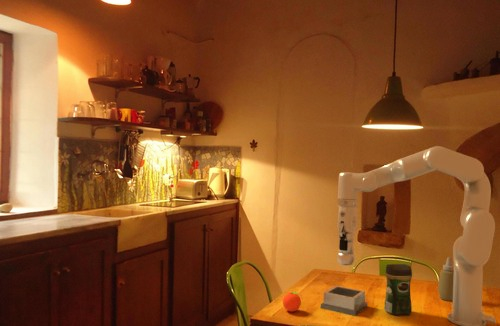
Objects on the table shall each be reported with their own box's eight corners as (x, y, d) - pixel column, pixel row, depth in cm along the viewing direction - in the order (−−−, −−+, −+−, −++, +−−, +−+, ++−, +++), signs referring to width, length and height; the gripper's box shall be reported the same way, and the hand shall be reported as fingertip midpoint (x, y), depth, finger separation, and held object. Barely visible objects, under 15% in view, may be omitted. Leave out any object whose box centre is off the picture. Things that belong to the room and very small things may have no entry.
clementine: (297, 307, 166) (298, 288, 166) (306, 313, 159) (307, 294, 159) (279, 308, 163) (279, 290, 163) (287, 315, 156) (287, 295, 156)
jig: (367, 306, 169) (367, 291, 169) (355, 315, 158) (355, 299, 158) (334, 299, 177) (334, 284, 177) (320, 307, 165) (321, 292, 165)
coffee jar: (403, 308, 168) (404, 261, 168) (414, 315, 160) (416, 266, 160) (380, 309, 166) (382, 262, 166) (391, 316, 158) (392, 266, 158)
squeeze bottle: (436, 300, 181) (438, 257, 181) (438, 295, 188) (439, 254, 188) (458, 303, 177) (459, 260, 177) (458, 298, 184) (459, 257, 184)
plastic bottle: (354, 267, 164) (356, 215, 164) (336, 266, 165) (338, 215, 165) (354, 263, 170) (355, 214, 170) (336, 262, 171) (338, 213, 171)
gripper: (349, 205, 158) (347, 253, 158) (363, 202, 173) (362, 247, 173) (330, 203, 163) (328, 251, 162) (346, 201, 177) (344, 244, 177)
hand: (346, 248), depth 168 cm, fingers closed on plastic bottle, 5 cm apart
